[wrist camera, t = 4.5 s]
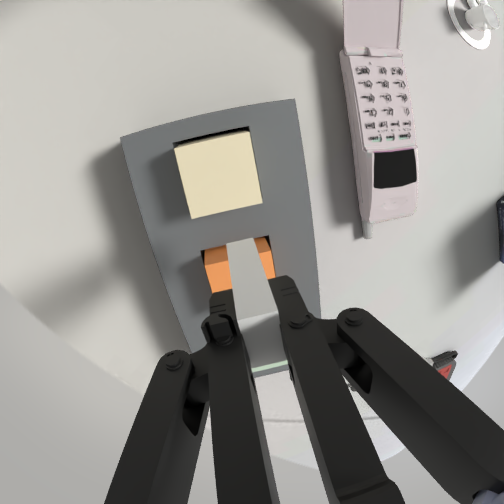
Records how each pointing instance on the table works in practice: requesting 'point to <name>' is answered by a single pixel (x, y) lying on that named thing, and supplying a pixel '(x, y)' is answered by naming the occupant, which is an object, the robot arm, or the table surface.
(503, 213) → the small box
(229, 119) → the button console
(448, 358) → the walkie-talkie
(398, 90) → the mobile phone
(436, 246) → the table surface
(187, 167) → the sand button
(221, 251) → the orange button
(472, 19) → the white candle holder
